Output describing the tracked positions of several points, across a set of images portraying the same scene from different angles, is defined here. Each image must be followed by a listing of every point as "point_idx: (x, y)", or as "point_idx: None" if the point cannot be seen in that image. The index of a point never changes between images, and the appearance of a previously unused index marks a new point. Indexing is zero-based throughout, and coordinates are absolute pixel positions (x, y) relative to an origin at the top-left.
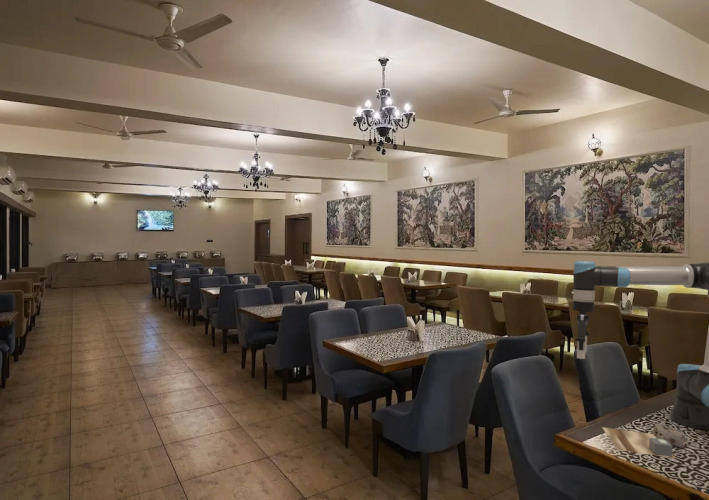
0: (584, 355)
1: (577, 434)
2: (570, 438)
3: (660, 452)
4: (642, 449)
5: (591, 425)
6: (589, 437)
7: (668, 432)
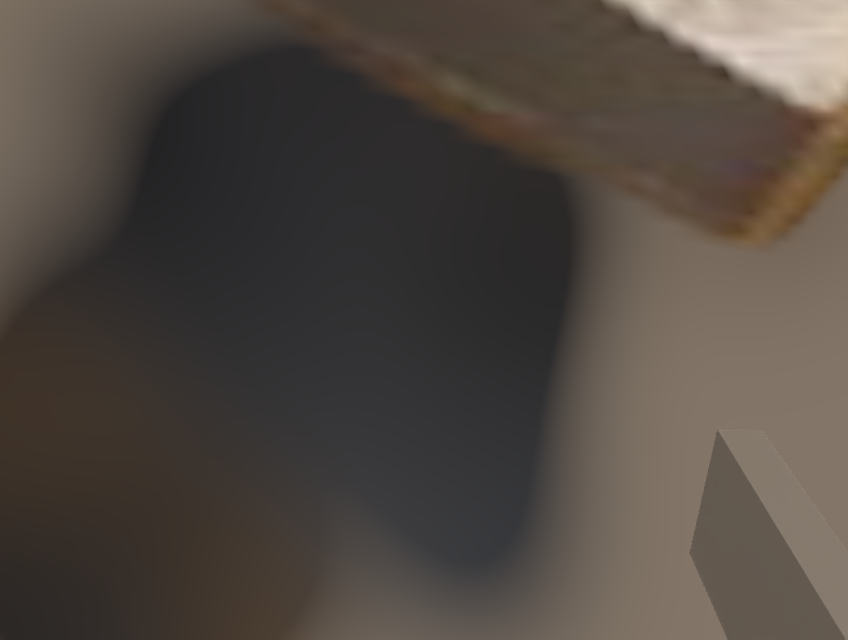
0: (794, 489)
1: (685, 149)
2: (788, 190)
3: None
4: None
5: (419, 55)
6: (708, 66)
7: None
